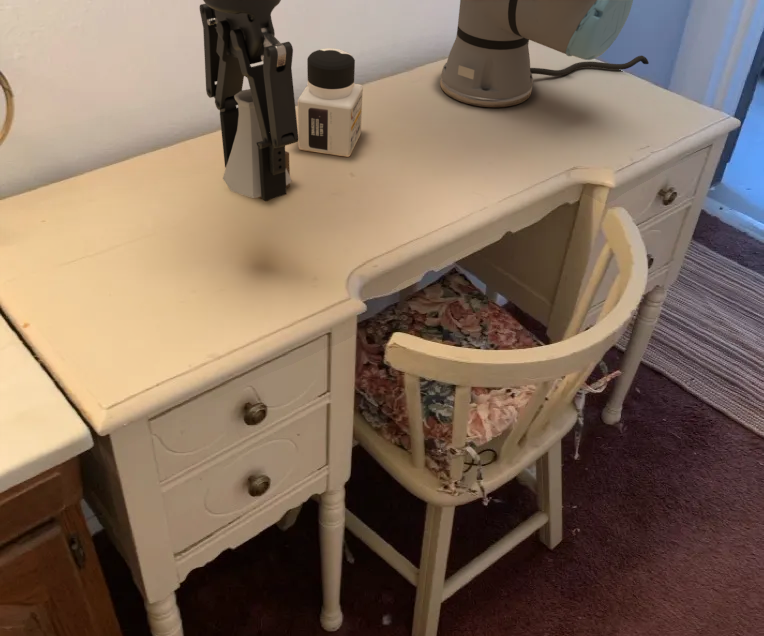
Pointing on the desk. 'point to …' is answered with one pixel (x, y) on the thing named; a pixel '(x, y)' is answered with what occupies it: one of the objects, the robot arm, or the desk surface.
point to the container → (330, 104)
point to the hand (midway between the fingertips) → (255, 180)
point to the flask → (246, 151)
